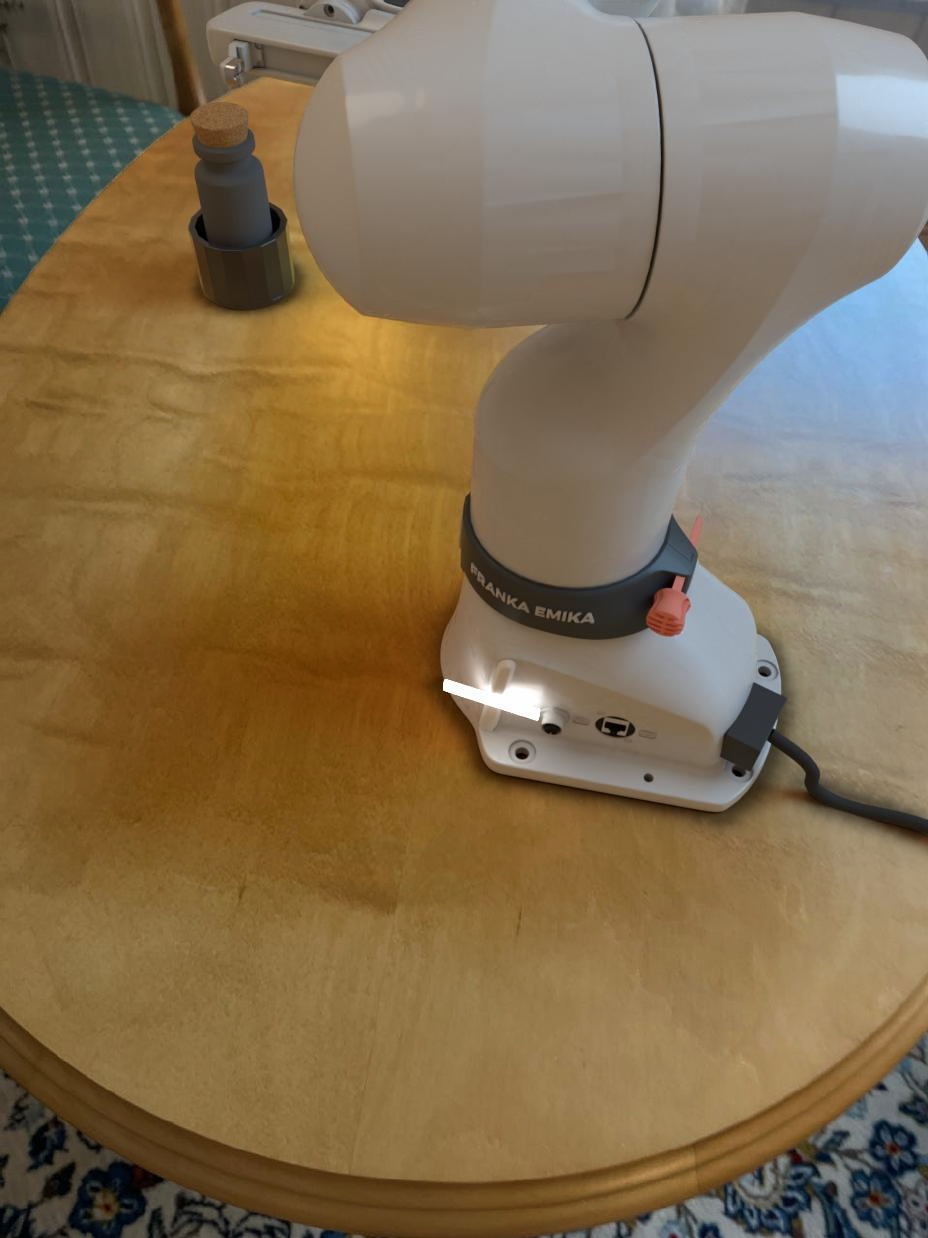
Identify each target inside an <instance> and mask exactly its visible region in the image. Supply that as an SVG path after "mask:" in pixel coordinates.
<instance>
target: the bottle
mask: <svg viewBox="0 0 928 1238" xmlns="http://www.w3.org/2000/svg"><path fill="white" fill-rule="evenodd" d="M189 120H190V124H191V126H192V129H193V131H194V134H193V135H192V139H191V142H192V148H193V152H194V154H195V155H196V157H198V158H199V159H200V160H199V161H198V162H197V163H196V164H195V166H194V172H193V173H194V180H195V184H196V185H195V186H196V190H197V194H198V200H199V205H200V209H201V210H202V215H203V220H204V224H205V229H206V234H207V239H208V243H211V244H215V245H219V246H223V247H243V246H248V245H253V244H258V243H260V242H262V241H264V240H266V239H268V238H270V237H271V236H272V235H273V229H272V222H271V215H270V209H269V202H270V201H269V196H268V189H267V188H268V187H267V183H266V176H265V170H264V166H263V164H262V162H261V160H260V159H259V158H258V157H256V156H255V155H254V154H253V153H254V152H255V151H256V138H255V134H254V132H253V131H252V130H251V129H250V128H249V112H248V110H247V109H246V108H245V107H244V106H242V105H240V104H237V103H234V102H228V101H216V102H209V103H206V104H203V105H200V106H198V107H196V108H195V109H194V110H193V111H192V112H191V113H190V116H189Z"/></svg>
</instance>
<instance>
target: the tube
mask: <svg viewBox="0 0 928 1238" xmlns="http://www.w3.org/2000/svg"><path fill="white" fill-rule="evenodd" d="M268 202H269V209H270V215H271V222H272V229H273V235H272V236H271V237H270V238H268V239H266V240H264V241H262V242H260V243H258V244H253V245H248V246H243V247H223V246H219V245H215V244H211V243H208V239H207V234H206V229H205V224H204V220H203V215H202V210H201V208H200V209H198V211H196V212H195V213H194V214H193V215H192V216H191V217H190V221H189V224H188V227H187V229H188V235H189V239H190V243H191V248H192V253H193V258H194V261H195V266H196V271H197V275H198V280H199V284H200V287H201V291H202V292H203V294H204V296H205V297H206V299H207V300H209V301H210V302H212V303H213V304H215V305H216V306H219V307H222V308H226V309H230V310H237V311H250V310H258V309H263V308H266V307H269V306H271V305H272V306H273V305H275V304H276V303H278V302H280V301H282V300H283V299H285V298H286V297H287V296H288V295H289V294H290V293H291V291H292V290H293V288H294V286H295V281H296V280H295V266H294V258H293V253H292V244H291V243H292V242H291V237H290V229H289V221H288V218H287V216H286V214H285V212H284V210H283V209H282V208H280V207H279V206H277V205H276V204H274V203H272V202H270V201H268Z"/></svg>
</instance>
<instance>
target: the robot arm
mask: <svg viewBox="0 0 928 1238" xmlns="http://www.w3.org/2000/svg"><path fill="white" fill-rule="evenodd" d="M661 1H662V0H300V3H299V7H293V6H287V5H283V4H277V3H273V2H267V1H259V0H257V1H256V0H254V1H247V2H243V3H240V4H237V5H236V6H233V7H231V8H229V9H227V10H225V11H222V12H221V13H219V14H217V15H216V16H213V17H211V19H209V20H208V21H207V23H206V24H205V34H206V42H207V47H208V51H209V56H210V58H211V61H212V63H213V65H214V66H215V67H217V68H219V73H220V79H221V83H222V85H226V86H232V87H236V88H240V87H241V85H244V84H245V83H247V81H248V79H247V74H251V75H253V76H254V75H255V76H260V77H263V78H269V79H273V80H279V81H282V82H283V81H284V82H288V83H294V84H297V85H298V84H299V85H302V86H307V87H313V91H312V93H311V95H310V96H309V98H308V101H307V102H306V106H305V109H304V111H303V113H302V117H301V119H300V123H299V127H298V130H297V134H296V138H295V146H294V152H293V166H292V185H293V196H294V203H295V207H296V208H295V210H296V213H297V219H298V222H299V226H300V229H301V233H302V235H303V238H304V240H305V243H306V245H307V248H308V250H309V252H310V254H311V256H312V258H313V260H314V262H315V264H316V265H317V267H318V269H319V270H320V272H321V274H322V275H323V276H324V278H325V280H326V282H328V283H329V284H330V286H331V287H332V288H333V289H334V291H335V292H336V293H337V294H338V295H339V296H340V297H341V298H342V299H343V300H344V302H345V303H346V304H348V305H349V306H350V307H351V308H352V309H353V310H354V311H356V312H357V313H358V314H359V315H361V316H363V317H367V318H368V317H369V318H375V319H379V320H380V319H381V320H387V321H395V322H401V323H406V324H407V323H408V324H413V325H421V326H429V327H430V326H431V327H436V328H437V327H439V328H445V329H455V330H463V331H477V330H478V331H481V330H492V329H494V330H495V329H504V328H507V329H508V328H518V327H532V326H533V327H534V326H535V327H536V326H544V327H542V328H540V329H537V330H536V331H535V332H534V333H532V334H530V335H528V336H527V337H526V338H524V339H522V340H521V341H519V342H517V344H516V345H514V346H513V347H512V348H511V349H509V351H507V352H506V353H505V354H504V355H503V357H502V358H500V359H499V361H498V362H497V363H496V365H495V367H494V368H493V369H492V371H491V372H490V373H489V375H488V377H487V379H486V380H485V382H484V384H483V386H482V388H481V390H480V393H479V395H478V397H477V399H476V402H475V406H474V410H473V418H472V446H471V447H472V449H471V471H470V473H471V477H470V491H469V492H468V493H467V494H466V495H465V496H464V501H463V506H462V512H461V517H460V518H461V519H460V524H459V536H458V538H459V539H458V545H459V546H458V547H459V550H460V569H461V570H462V573H463V580H462V585H461V589H460V594H459V598H458V600H457V604H456V607H455V610H454V612H453V614H452V616H451V617H450V620H449V621H448V623H447V625H446V628H445V630H444V633H443V636H442V639H441V643H440V650H439V651H440V652H439V661H440V669H441V674H442V678H443V691H445V692H448V693H449V695H450V696H451V698H452V700H453V701H454V703H455V704H456V706H457V707H458V709H459V710H460V711H461V712H462V714H463V715H464V716H465V717H466V718H467V720H468V721H469V723H470V724H471V725H472V727H473V729H474V733H475V736H476V742H477V745H478V749H479V752H480V756H481V758H482V760H483V762H484V764H485V765H486V767H487V768H488V769H489V770H491V771H492V772H495V773H497V774H500V775H505V776H511V777H515V778H522V779H526V780H527V779H528V780H532V781H538V782H543V783H549V784H554V785H561V786H565V787H570V788H571V787H572V788H577V789H581V790H582V789H583V790H588V791H593V792H598V793H605V794H610V795H616V796H620V797H626V798H630V799H631V798H632V799H636V800H637V799H638V800H643V801H649V802H653V803H660V804H664V805H671V806H676V807H682V808H687V809H691V810H692V809H693V810H697V811H703V812H711V813H721V812H724V811H727V810H728V809H729V808H730V807H732V806H733V805H735V804H736V803H737V802H738V801H740V800H741V798H742V797H744V796H745V794H747V792H749V790H750V789H751V787H752V786H753V785H754V784H755V781H756V780H757V778H758V777H759V775H760V773H761V771H762V769H763V767H764V765H765V762H766V760H767V757H768V755H769V752H770V750H771V746H773V747H775V748H776V749H777V750H779V751H780V752H781V753H783V754H785V755H786V756H787V757H788V758H790V759H791V760H793V761H794V762H795V763H796V764H797V765H798V766H799V767H800V768H801V769H802V770H803V771H804V773H805V776H804V787H805V789H806V791H807V792H808V793H809V794H810V795H811V796H812V797H813V798H815V800H817V801H819V802H820V803H822V804H824V805H825V806H828V807H831V808H833V809H836V810H837V811H841V812H845V813H849V814H852V815H855V816H859V817H861V818H865V819H870V820H873V821H878V822H883V823H887V824H891V825H896V826H900V827H904V828H907V829H911V830H914V831H916V832H920V833H923V834H925V835H928V819H927V818H924V817H921V816H918V815H914V814H912V813H907V812H904V811H899V810H895V809H891V808H885V807H880V806H876V805H871V804H865V803H861V802H859V801H855V800H850V799H848V798H845V797H842V796H840V795H838V794H836V793H834V792H832V791H830V790H829V789H827V788H826V787H824V786H823V785H822V784H820V781H821V780H820V778H821V771H820V768H819V766H818V764H817V763H816V761H815V760H814V759H813V758H812V757H811V755H809V754H808V753H807V751H805V750H804V749H803V748H801V747H800V746H799V745H797V744H796V743H795V742H794V741H792V740H790V739H789V738H787V737H786V736H785V735H784V734H782V733H780V732H779V730H777V725H778V720H779V716H780V715H781V713H782V711H783V709H784V707H785V705H786V702H787V700H788V697H786V696H784V695H782V679H781V672H780V671H781V670H780V666H779V662H778V659H777V657H776V654H775V652H774V649H773V647H772V645H771V643H770V642H769V640H768V639H767V638H766V637H765V636H763V635H761V634H759V633H758V630H757V624H756V620H755V616H754V613H753V611H752V609H751V607H750V606H749V604H748V603H747V601H746V600H745V599H744V598H743V597H742V596H741V595H739V594H738V593H737V592H736V591H734V590H733V589H731V588H730V587H729V586H728V585H726V584H725V582H723V581H721V580H720V579H719V578H718V577H717V576H715V575H714V574H713V573H712V572H710V570H709V569H707V568H706V567H705V566H703V565H702V564H700V561H699V559H698V558H699V553H698V550H697V546H698V543H699V540H700V536H701V533H702V515H700V514H698V515H697V517H696V519H695V522H694V525H693V528H692V530H691V534H690V535H689V537H688V536H687V534H686V533H685V532H684V531H683V529H682V528H681V526H680V525H679V523H678V521H677V520H676V518H675V516H674V514H673V511H674V508H675V504H676V501H677V498H678V496H679V493H680V489H681V486H682V483H683V481H684V478H685V475H686V472H687V469H688V467H689V464H690V461H691V459H692V456H693V453H694V451H695V449H696V446H697V444H698V442H699V440H700V439H701V436H702V434H703V432H704V431H705V429H706V428H707V426H708V425H709V423H710V421H711V420H712V419H713V417H715V415H716V413H717V412H718V411H719V410H720V408H721V407H722V406H723V405H724V403H725V402H726V401H727V400H728V398H730V396H731V395H732V394H733V393H734V391H736V389H738V387H739V386H740V385H741V384H742V382H743V381H744V380H745V379H746V378H747V377H748V376H749V375H750V374H751V373H752V372H753V371H754V370H756V368H757V367H758V366H759V365H760V364H761V363H762V362H763V361H764V360H765V359H766V358H767V357H768V356H769V355H771V353H772V352H773V351H774V350H776V349H777V348H778V347H779V346H780V345H782V344H783V342H785V341H786V340H787V339H788V338H789V337H790V336H792V335H793V334H794V333H795V332H796V331H798V330H799V329H800V328H801V327H803V326H804V325H806V324H807V323H808V322H809V321H811V320H812V319H814V318H815V317H816V316H818V315H819V314H821V313H822V312H823V311H825V310H827V309H828V308H830V307H831V306H833V305H834V304H836V303H837V302H839V301H841V300H843V299H844V298H847V297H848V296H850V295H852V294H853V293H855V292H857V291H859V290H861V289H862V288H864V287H867V286H869V285H870V284H872V283H874V282H875V281H878V280H880V279H882V278H883V277H884V276H885V275H887V274H888V273H889V272H890V271H891V270H893V269H894V268H895V267H896V266H897V265H898V264H899V262H900V261H901V260H902V259H903V258H904V256H905V255H906V254H907V253H908V251H909V250H910V249H911V248H912V246H913V245H914V243H915V242H916V241H917V239H918V237H919V236H920V234H921V233H922V230H923V229H924V227H925V225H926V224H927V222H928V58H927V56H926V55H925V53H924V52H923V50H922V49H921V48H920V47H919V45H918V44H917V43H916V42H914V41H913V40H912V39H911V38H909V37H908V36H906V35H904V34H901V33H898V32H894V31H890V30H885V29H882V28H877V27H874V26H869V25H865V24H860V23H857V22H853V21H848V20H843V19H838V18H832V17H828V16H823V15H816V14H811V13H807V12H800V11H794V10H792V11H775V12H773V11H771V12H748V13H721V14H720V13H719V14H697V15H675V16H674V15H672V16H671V15H670V16H667V15H666V16H650V15H651V14H652V13H653V11H654V10H655V9H656V8H657V7H658V5H660V3H661ZM760 673H763V674H765V675H766V676H763V675H761V674H760ZM518 754H524V755H525V756H526V758H523V759H521V758H519V757H517V755H518ZM733 771H737V772H739V773H740V774H741V775H742V776H738V775H737V776H736V775H735V774H734V773H733Z"/></svg>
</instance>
